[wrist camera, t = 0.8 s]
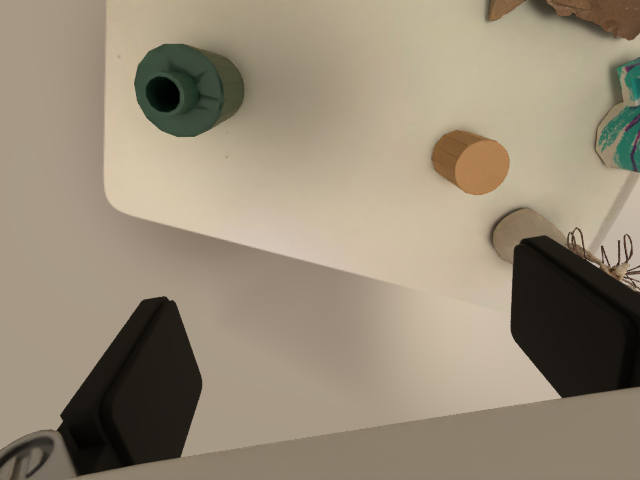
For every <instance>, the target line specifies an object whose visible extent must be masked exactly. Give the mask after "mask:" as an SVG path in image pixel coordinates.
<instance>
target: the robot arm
mask: <svg viewBox="0 0 640 480" xmlns="http://www.w3.org/2000/svg"><path fill="white" fill-rule="evenodd" d="M511 333H512V336H513V338H514V340H515V342H516V343H517V344H518V345H519V347H520V348H521V349H522V350H523V351H524V353H525V354H526V355H527V356H528V357H529V359H530V360H531V361H532V362H533V363H534V365H535V366H536V367H537V368H538V370H539V371H540V372H541V373H542V374H543V375H544V377H545V378H546V379H547V380H548V382H549V383H550V384H551V385H552V386H553V388H554V389H555V390H556V391H557V393H558V394H559V395H560V396H561V397H562V398H561V399H554V400H548V401H541V402H534V403H528V404H522V405H515V406H507V407H501V408H494V409H488V410H482V411H475V412H469V413H462V414H456V415H449V416H443V417H436V418H430V419H424V420H417V421H411V422H405V423H398V424H391V425H385V426H378V427H372V428H367V429H359V430H353V431H346V432H340V433H334V434H327V435H320V436H314V437H308V438H301V439H294V440H288V441H281V442H275V443H269V444H262V445H256V446H250V447H244V448H237V449H231V450H225V451H219V452H213V453H206V454H200V455H194V456H188V457H181V454H182V451H183V448H184V444H185V441H186V438H187V435H188V432H189V429H190V425H191V422H192V419H193V416H194V413H195V410H196V406H197V403H198V400H199V397H200V394H201V390H202V378H201V374H200V372H199V369H198V365H197V363H196V360H195V357H194V354H193V351H192V348H191V345H190V342H189V340H188V337H187V334H186V331H185V328H184V325H183V322H182V320H181V317H180V314H179V311H178V308H177V305H176V303H175V302H174V301H173V300H172V301H169V300H168V298H167V297H164V296H163V297H157V298H151V299H145V300H143V301H141V303H140V304H139V306H138V307H137V308H136V310H135V311H134V313H133V314H132V315H131V317H130V318H129V320H128V321H127V322H126V324H125V325H124V327H123V328H122V329H121V331H120V332H119V334H118V335H117V336H116V338H115V339H114V341H113V342H112V343H111V345H110V346H109V348H108V349H107V350H106V352H105V353H104V355H103V356H102V357H101V359H100V360H99V362H98V363H97V364H96V366H95V367H94V369H93V370H92V372H91V373H90V374H89V376H88V377H87V378H86V380H85V381H84V383H83V384H82V386H81V387H80V388H79V390H78V391H77V392H76V394H75V395H74V396H73V398H72V399H71V401H70V402H69V404H68V405H67V406H66V408H65V409H64V410H63V412H62V414H61V415H60V416H61V418H62V420H63V422H62V424H61V425H60V427H59V428H58V429H57V431H54V430H51V429H50V430H40V431H37V432H34V433H31V434H27V435H25V436H23V437H21V438H19V439H17V440H15V441H14V442H12V443H10V444H9V445H7V446H6V447H4V448H3V449H1V450H0V480H640V294H639V293H638V292H636V291H634V290H633V289H631V288H630V287H628V286H626V285H625V284H623V283H622V282H620V281H618V280H617V279H615V278H614V277H612V276H610V275H609V274H607V273H606V272H604V271H602V270H601V269H599V268H598V267H596V266H595V265H593V264H591V263H590V262H588V261H587V260H585V259H583V258H582V257H580V256H579V255H577V254H575V253H574V252H572V251H571V250H569V249H567V248H566V247H564V246H563V245H561V244H559V243H558V242H556V241H555V240H553V239H552V238H550V237H548V236H546V235H543V236H536V237H530V238H524V239H522V240H521V241H520V243H519V245H516V246H515V248H514V254H513V279H512V303H511ZM180 457H181V458H180Z"/></svg>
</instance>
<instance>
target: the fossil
mask: <svg viewBox="0 0 640 480" xmlns="http://www.w3.org/2000/svg"><path fill="white" fill-rule="evenodd" d="M524 1H525V0H491V7H490V12H489V19H490V20H491V21H494V20H497V19H499V18H501V17H502V16H503V15H505V14H507V13H509V12H510V11H512V10H514V9H515V8H516V7H517V6H519V5H520V4H521V3H523V2H524ZM546 1H547V4H550V5H551V6H552V7H553V8H554V9H556V12H557V14H558V16H561V15H562V16H568V15H571V14H572V13H575V14H576V17H579V18H582V19H584V20H587V21H593V22H594V23H595V24H596V25H600V26H602V28H603V29H604V30H605V31H607V32H610V31H611V32H612V33H613V36H614V37H615V38H616V37H617V36H620V37H622V38H626V39H627V40H633V39H634V38H635V37H636V36H637V35H639V33H640V0H546Z"/></svg>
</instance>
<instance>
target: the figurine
mask: <svg viewBox="0 0 640 480" xmlns="http://www.w3.org/2000/svg"><path fill="white" fill-rule="evenodd" d="M576 229H578V230H579V232H580V233H581V238H582V244H583V248H582V247H581V246H579V245H577V244H576V241H575V237H574V235H573V234H574V231H575V230H576ZM574 231H573V233H571V235H572V240H571V242H572V243H569V234H570V232H569V234H568V237H567V239H566V237H565V236H564V235H563V234H562V233H561V232H560V231H559V230H558V228H557V227H555V226H554V225H553V224H552V223H550V222H549V221H548V220H546V219H545V218H543V217H542V216H541V215H539V214H537V213H536V212H534V211H533V210H531V209H529V208H526V209H520V210H518V211H516V212H513V213H511V214H510V215H508V216H506V217H505V218H504V219H503V220H502V221H501V222H500V223H499V224H498V225H497V227H496V229H495V231H494V234H493V245H494V247H495V249H496V250H497V252H498V254H499V256H500V257H501V258H502V259H503V260H505V261H507V262H509V263H511V264H512V265H513V254H514V248H515V246H516V245H519V243H520V241H521V240H522V239H524V238H530V237H536V236H543V235H546V236H548V237H550V238H552V239H553V240H555V241H556V242H558V243H559V244H561V245H563V246H564V247H566V248H567V249H569V250H571V251H572V252H574V253H575V254H577V255H579V256H580V257H582V258H585V260H586V259H587V260H589V261H591V262H594V263H596V264H598V265H600V268H599V269H601V270H602V271H604V272H606V273H607V274H609V275H610V276H612V277H614V278H615V279H617V280H618V281H620V282H622V281H625V282H627V283H629V284H630V285H632V286H633V287H631V286H629V285H626V286H628V287H630V288H631V289H633V290H634V291H636V292H638V291H637V290H636V289H635V288H638V289H639V290H640V288H639V287H637V286H636V285H635V283H634V282H633V281H632V282H633V284H632V283H630V282H628V281H626V280H624V279H623V278H626V279H630V280H634V279H632V278H629V277H628V276H627V275H632V274H640V271H634V272H628V271H631V270H633V269H631V270H627V269H626V268H628V267H629V266H630V265H629V264H628V260H629V259H630V258H631V256H632V254H633V250H632V241H631V238H630V236H629V235H628V234H626V235H627V236H628V237H629V239H630V243H631V252H630V256H629V258H628V255H627V250H626V243H625V235H624V248H625V254H626V261H625V262H624V263H622V265H620V266H619V262H620V240H619V241H618V248H619V249H618V258H619V259H618V263H617V265H618V266H617V265H616V266H613V267H612V268H610V264H609V262H608V259H607V257H606V254H605V251H604V248H603V246H601V251H602V258H603V252H604V255H605V258H606V260H607V262H608V265H609V266H606V265H605V264H604V261H603V260H602V262H601V261H600V260H599V259H598V258H596V257H595V256H593V255H592V254H591V253H590V252H588V251H586V250H585V248H584V242H583V235H582V232H581V230H580V229H579V228H577V227H576V228H575V229H574ZM573 239H574V243H575V244H573ZM580 250H581V251H580ZM582 251H583V252H584V253H583V252H582ZM585 253H586V254H587V255H585ZM638 267H640V266H638ZM638 267H636V268H638ZM636 268H634V269H636ZM626 272H628V273H626ZM625 275H626V276H627V277H624V276H625ZM635 281H637V280H635ZM637 282H639V281H637ZM634 287H635V288H634ZM638 293H639V294H640V292H638Z"/></svg>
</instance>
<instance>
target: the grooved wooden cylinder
mask: <svg viewBox="0 0 640 480" xmlns="http://www.w3.org/2000/svg"><path fill="white" fill-rule="evenodd" d="M432 161H433V165H434V168H435V170H436V171H437V172H438V173H439V174H440V175H442V176H443V177H444V178H446V179H447V180H448V181H450V182H451V183H453V184H454V185H456V186H457V187H458V188H460V189H461V190H463V191H464V192H466V193H469V194H473V195H482V194H486V193H489V192H491V191H493V190H494V189H496V188H497V187H498V186H499V185H500V184H501V183H502V182H503V181H504V179H505V177H506V175H507V173H508V170H509V156H508V154H507V151H506V150H505V148H504V147H503V146H502V145H500V144H499V143H497V142H496V141H494V140H491V139H488V138H485V137H482V136H479V135H476V134H473V133H470V132H465V131H458V130H455V131H453V132H451V133H448V134H446V135H444V136H443V137H442V138H441V139H440V140H439V142H438V143H437V144H436V145H435V147H434V151H433V155H432Z"/></svg>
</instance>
